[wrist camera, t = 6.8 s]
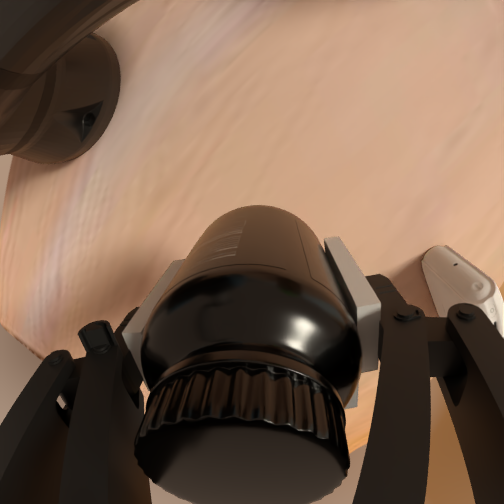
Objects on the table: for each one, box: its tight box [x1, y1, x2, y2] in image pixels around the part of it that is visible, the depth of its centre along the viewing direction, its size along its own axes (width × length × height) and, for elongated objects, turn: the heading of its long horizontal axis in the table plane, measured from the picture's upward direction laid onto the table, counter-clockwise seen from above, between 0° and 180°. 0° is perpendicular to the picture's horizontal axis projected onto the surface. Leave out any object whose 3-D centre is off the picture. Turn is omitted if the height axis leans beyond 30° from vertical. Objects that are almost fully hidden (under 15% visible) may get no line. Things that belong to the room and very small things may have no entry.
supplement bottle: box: [134, 205, 363, 504], centre depth 11 cm, size 7×7×12 cm
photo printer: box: [421, 245, 504, 338], centre depth 25 cm, size 10×4×12 cm, turn 33°
